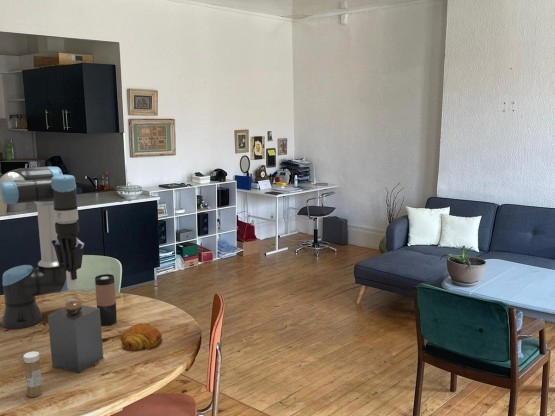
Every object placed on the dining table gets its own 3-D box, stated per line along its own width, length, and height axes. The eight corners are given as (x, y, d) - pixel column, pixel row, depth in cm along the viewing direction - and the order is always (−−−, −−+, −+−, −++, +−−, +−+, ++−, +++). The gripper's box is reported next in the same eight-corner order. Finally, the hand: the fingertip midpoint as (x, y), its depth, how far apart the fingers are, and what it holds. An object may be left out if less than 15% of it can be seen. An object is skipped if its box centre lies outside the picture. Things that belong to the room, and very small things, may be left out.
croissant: (115, 353, 209) (111, 334, 206) (139, 332, 222) (135, 314, 220) (148, 358, 204) (144, 339, 201) (170, 336, 217) (167, 318, 215)
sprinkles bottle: (24, 394, 175) (20, 354, 173) (38, 388, 179) (34, 349, 176) (31, 399, 172) (27, 358, 170) (45, 393, 176) (41, 353, 173)
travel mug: (120, 319, 236) (117, 274, 232) (113, 326, 228) (109, 279, 224) (102, 319, 236) (99, 273, 233) (95, 326, 229) (91, 279, 225)
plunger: (59, 361, 194) (54, 305, 190) (77, 351, 202) (72, 297, 198) (78, 366, 191) (73, 309, 187) (96, 355, 198) (92, 300, 195)
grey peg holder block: (52, 366, 194) (47, 315, 190) (77, 352, 204) (73, 303, 201) (79, 373, 189) (74, 320, 185) (103, 358, 200) (99, 308, 196)
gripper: (43, 221, 186) (49, 289, 191) (73, 225, 181) (78, 294, 186) (60, 217, 193) (65, 282, 198) (89, 220, 188) (94, 287, 193)
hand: (72, 288), depth 192 cm, fingers closed
